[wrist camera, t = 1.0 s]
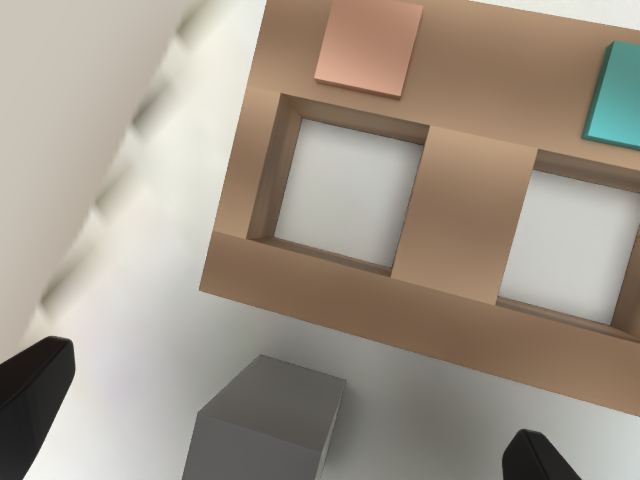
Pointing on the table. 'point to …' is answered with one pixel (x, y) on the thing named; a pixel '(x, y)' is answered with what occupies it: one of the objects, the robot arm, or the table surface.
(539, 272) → the table surface
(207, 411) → the grey upright block
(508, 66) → the socket board
